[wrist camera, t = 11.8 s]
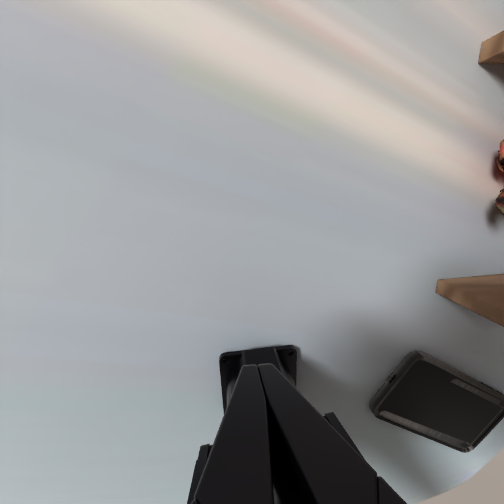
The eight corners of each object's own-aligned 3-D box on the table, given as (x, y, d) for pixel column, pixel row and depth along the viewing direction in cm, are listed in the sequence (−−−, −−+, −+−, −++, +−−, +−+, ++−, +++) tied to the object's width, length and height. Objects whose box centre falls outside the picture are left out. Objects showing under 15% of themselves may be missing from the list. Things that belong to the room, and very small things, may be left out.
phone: (468, 454, 27) (369, 415, 23) (459, 444, 28) (363, 405, 24) (517, 402, 26) (420, 352, 22) (505, 393, 27) (411, 344, 23)
